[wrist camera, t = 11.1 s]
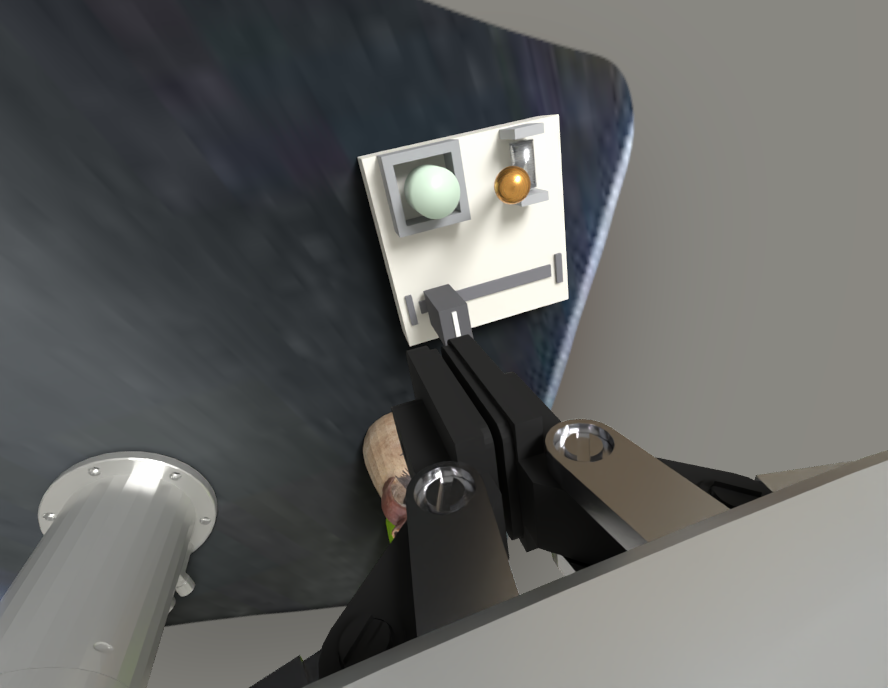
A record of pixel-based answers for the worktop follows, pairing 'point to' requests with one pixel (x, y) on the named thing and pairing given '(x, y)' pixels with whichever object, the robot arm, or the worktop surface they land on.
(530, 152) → the toggle lever
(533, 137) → the panel
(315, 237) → the worktop surface
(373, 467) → the figurine
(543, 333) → the worktop surface
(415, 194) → the push button
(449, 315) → the slider knob
